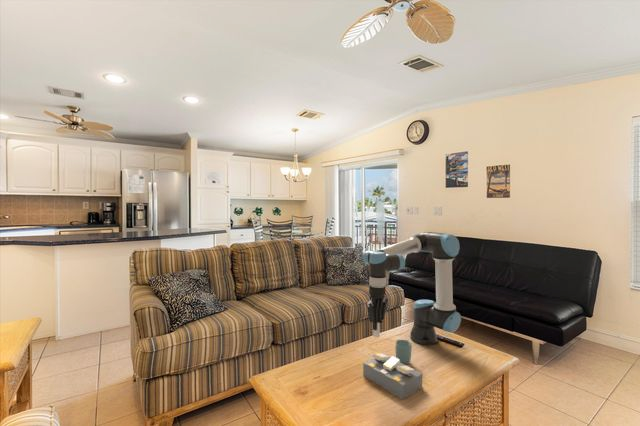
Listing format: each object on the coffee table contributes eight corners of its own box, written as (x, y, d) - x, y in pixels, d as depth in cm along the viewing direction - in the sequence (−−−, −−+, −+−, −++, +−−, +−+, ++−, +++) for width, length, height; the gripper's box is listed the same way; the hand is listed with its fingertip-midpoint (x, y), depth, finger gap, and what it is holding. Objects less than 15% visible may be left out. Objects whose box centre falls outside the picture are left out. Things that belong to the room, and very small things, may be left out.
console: (382, 366, 151) (383, 351, 151) (422, 387, 134) (422, 370, 134) (363, 375, 143) (363, 360, 142) (402, 399, 125) (402, 382, 125)
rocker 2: (393, 358, 142) (392, 355, 141) (400, 362, 139) (399, 359, 138) (383, 367, 138) (383, 364, 137) (390, 371, 134) (390, 368, 134)
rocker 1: (381, 356, 147) (382, 353, 148) (388, 359, 144) (388, 356, 145) (372, 356, 143) (372, 353, 143) (378, 360, 140) (379, 357, 140)
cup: (411, 367, 151) (412, 347, 150) (395, 365, 152) (396, 345, 152) (410, 359, 158) (410, 340, 158) (395, 357, 160) (395, 338, 159)
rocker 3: (406, 368, 137) (406, 365, 137) (413, 372, 133) (414, 369, 134) (396, 369, 132) (397, 366, 132) (404, 373, 129) (405, 370, 129)
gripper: (380, 281, 148) (379, 330, 149) (361, 286, 140) (360, 337, 140) (392, 285, 142) (391, 335, 143) (374, 289, 134) (373, 342, 135)
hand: (376, 336), depth 142 cm, fingers closed
